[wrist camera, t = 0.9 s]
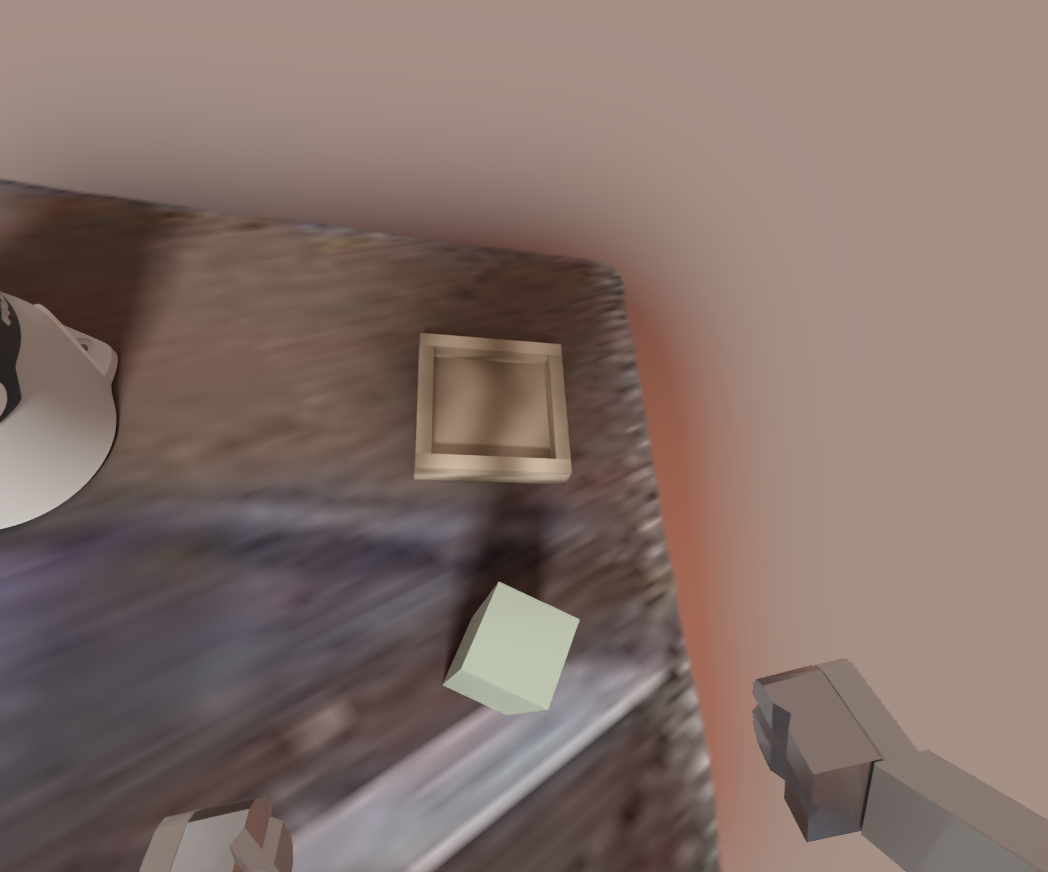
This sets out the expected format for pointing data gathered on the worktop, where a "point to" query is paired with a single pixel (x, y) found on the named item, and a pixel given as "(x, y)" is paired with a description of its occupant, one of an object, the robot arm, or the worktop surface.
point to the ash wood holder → (490, 411)
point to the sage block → (512, 652)
